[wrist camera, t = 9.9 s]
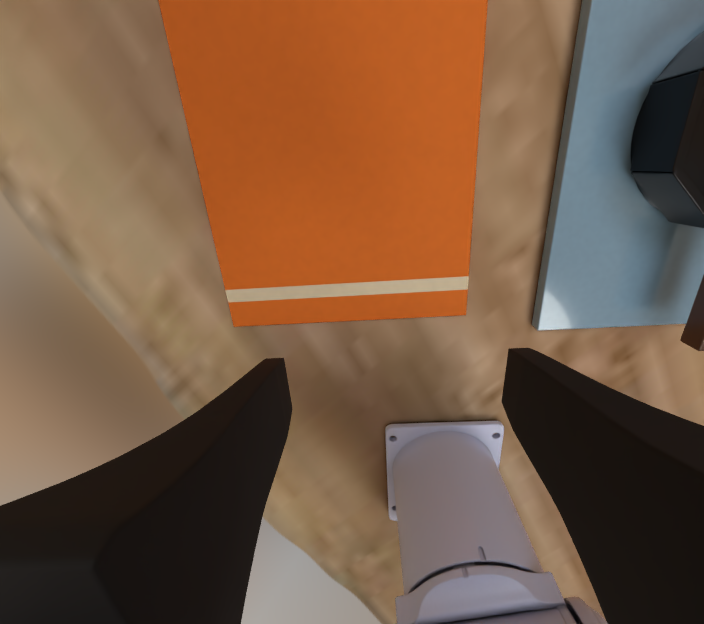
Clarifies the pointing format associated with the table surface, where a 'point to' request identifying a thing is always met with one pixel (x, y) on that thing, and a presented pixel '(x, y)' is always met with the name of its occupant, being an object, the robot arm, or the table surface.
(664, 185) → the skillet
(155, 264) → the table surface
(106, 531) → the robot arm
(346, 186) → the tea towel
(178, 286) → the table surface
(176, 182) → the table surface
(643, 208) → the trivet
